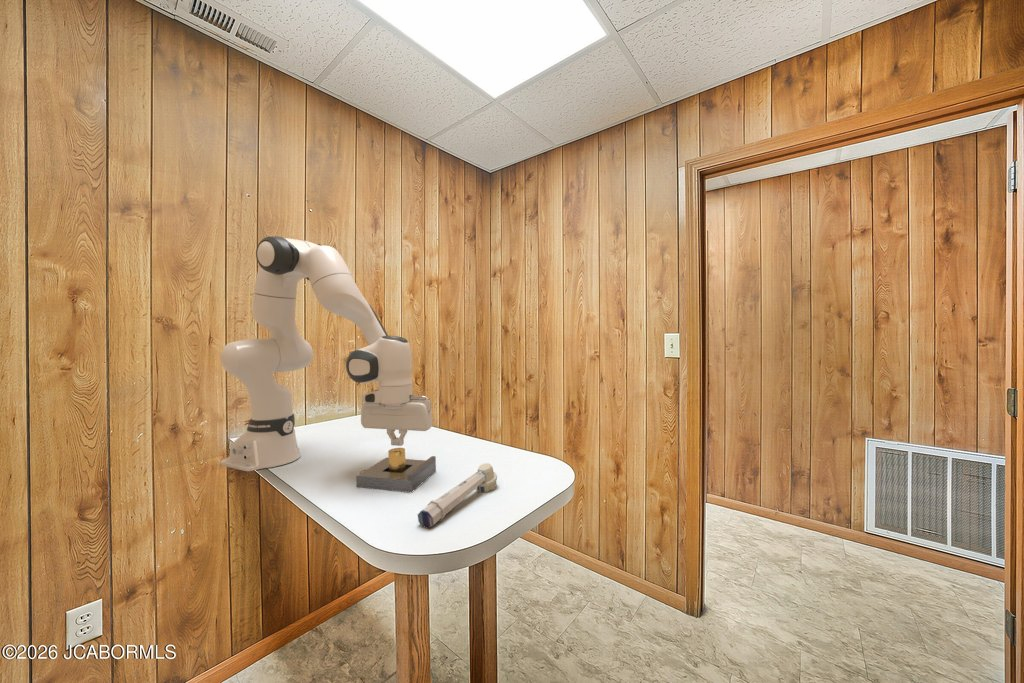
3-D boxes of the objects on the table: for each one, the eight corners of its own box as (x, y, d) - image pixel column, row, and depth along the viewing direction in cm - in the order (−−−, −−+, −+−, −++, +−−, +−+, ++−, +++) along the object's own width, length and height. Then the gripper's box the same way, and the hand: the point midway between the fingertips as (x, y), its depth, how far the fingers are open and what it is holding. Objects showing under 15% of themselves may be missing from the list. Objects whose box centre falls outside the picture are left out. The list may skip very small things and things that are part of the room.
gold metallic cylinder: (386, 481, 100) (385, 452, 99) (394, 475, 104) (393, 447, 104) (401, 482, 99) (399, 453, 98) (409, 476, 103) (407, 448, 103)
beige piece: (414, 507, 77) (483, 455, 98) (418, 536, 78) (485, 479, 99) (432, 513, 74) (499, 459, 95) (436, 543, 75) (502, 483, 96)
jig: (356, 486, 96) (355, 470, 96) (386, 467, 110) (386, 452, 110) (411, 492, 93) (411, 475, 93) (435, 471, 106) (435, 456, 106)
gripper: (436, 393, 101) (437, 443, 102) (370, 392, 106) (372, 439, 106) (425, 398, 95) (426, 450, 96) (356, 396, 100) (358, 446, 100)
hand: (397, 445), depth 101 cm, fingers closed
